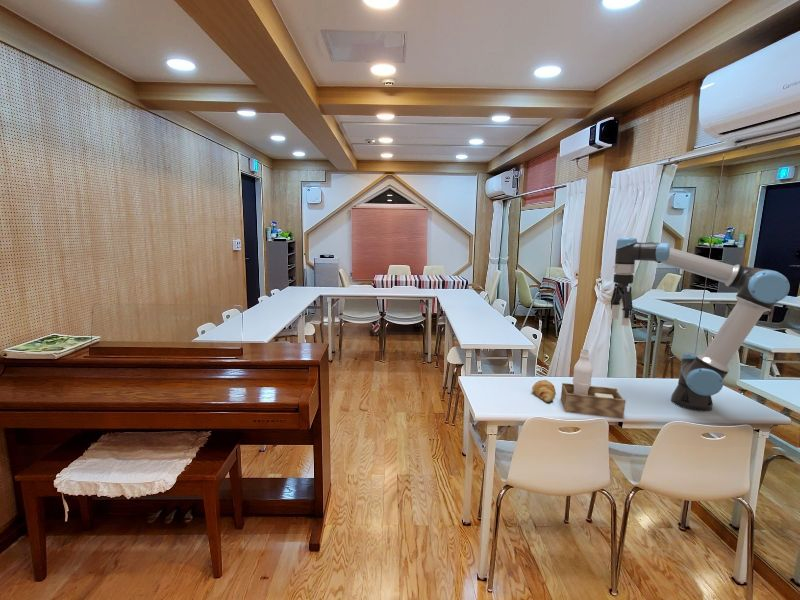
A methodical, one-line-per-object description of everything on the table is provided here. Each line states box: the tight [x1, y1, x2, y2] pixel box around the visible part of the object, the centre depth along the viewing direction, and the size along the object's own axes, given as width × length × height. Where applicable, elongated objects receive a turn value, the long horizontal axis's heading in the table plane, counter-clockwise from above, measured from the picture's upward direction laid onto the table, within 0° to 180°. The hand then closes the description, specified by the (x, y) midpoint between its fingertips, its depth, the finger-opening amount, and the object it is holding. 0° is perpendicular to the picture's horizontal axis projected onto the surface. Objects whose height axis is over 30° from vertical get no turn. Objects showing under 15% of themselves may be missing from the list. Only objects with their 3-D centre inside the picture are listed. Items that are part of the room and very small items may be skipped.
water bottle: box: [572, 349, 593, 395], centre depth 173 cm, size 7×7×25 cm
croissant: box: [531, 379, 556, 403], centre depth 190 cm, size 21×10×8 cm, turn 173°
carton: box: [594, 393, 614, 398], centre depth 172 cm, size 7×10×5 cm
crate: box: [560, 382, 626, 420], centre depth 173 cm, size 22×13×9 cm, turn 76°
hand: (619, 322), depth 181 cm, fingers open, 13 cm apart
